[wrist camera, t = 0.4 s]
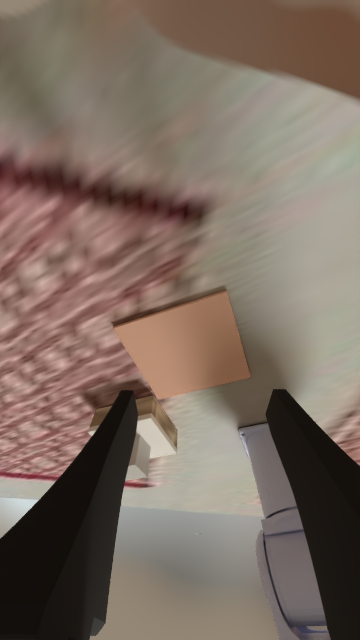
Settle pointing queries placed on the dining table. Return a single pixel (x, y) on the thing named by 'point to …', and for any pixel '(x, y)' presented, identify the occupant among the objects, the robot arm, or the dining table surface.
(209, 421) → the dining table surface
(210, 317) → the mat
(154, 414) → the box
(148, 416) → the lid
